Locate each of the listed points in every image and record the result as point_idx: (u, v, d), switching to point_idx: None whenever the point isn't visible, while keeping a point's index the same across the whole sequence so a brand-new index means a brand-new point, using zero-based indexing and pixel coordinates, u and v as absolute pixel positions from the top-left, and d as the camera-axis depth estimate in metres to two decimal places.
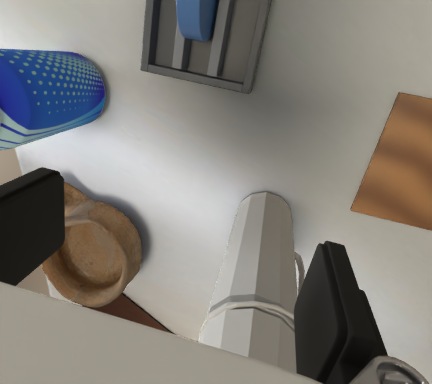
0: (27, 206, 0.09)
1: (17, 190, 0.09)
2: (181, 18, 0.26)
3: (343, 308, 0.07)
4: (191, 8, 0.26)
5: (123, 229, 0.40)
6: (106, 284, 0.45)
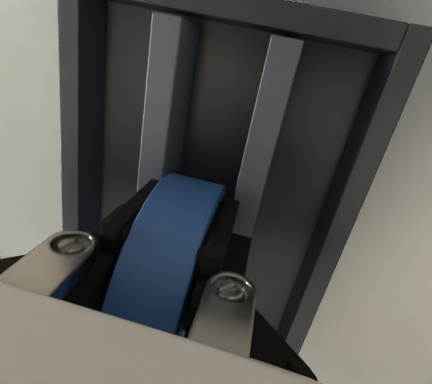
0: None
1: None
2: None
3: (208, 239, 0.09)
4: None
5: None
6: None
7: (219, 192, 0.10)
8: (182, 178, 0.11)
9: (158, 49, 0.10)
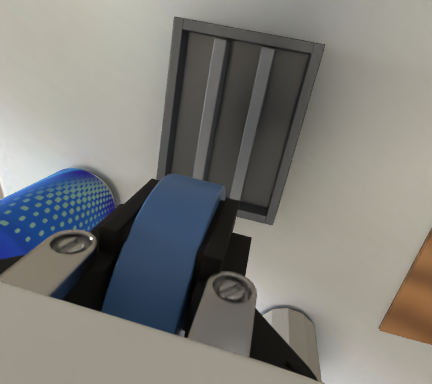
0: None
1: None
2: None
3: (208, 239, 0.09)
4: None
5: None
6: None
7: (219, 192, 0.10)
8: (182, 178, 0.11)
9: (216, 53, 0.25)
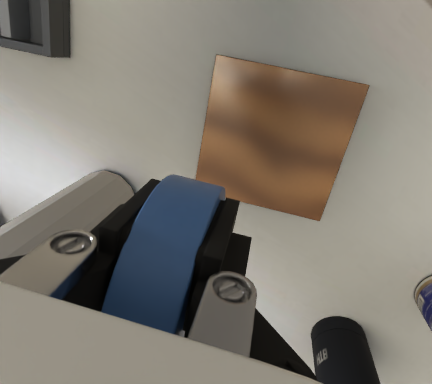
0: None
1: (145, 201, 0.10)
2: None
3: (208, 239, 0.09)
4: None
5: None
6: None
7: (219, 193, 0.10)
8: (182, 179, 0.11)
9: None
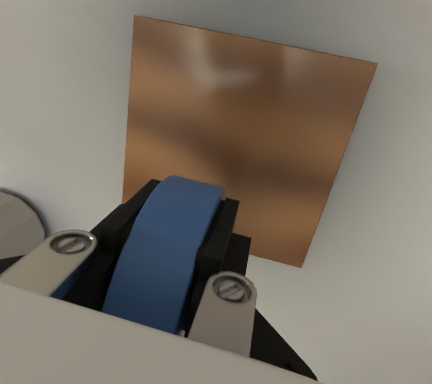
0: None
1: (145, 201, 0.10)
2: None
3: (208, 239, 0.09)
4: None
5: None
6: None
7: (219, 194, 0.10)
8: (182, 180, 0.11)
9: None
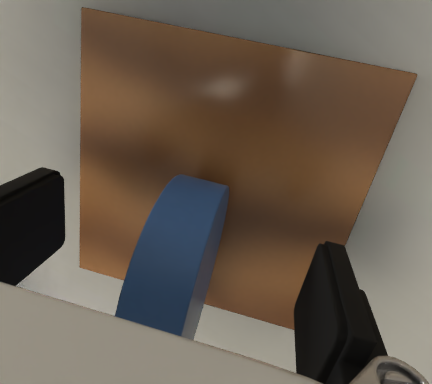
0: (27, 206, 0.09)
1: (17, 190, 0.09)
2: None
3: (343, 308, 0.07)
4: None
5: None
6: None
7: (223, 192, 0.11)
8: (189, 179, 0.12)
9: None
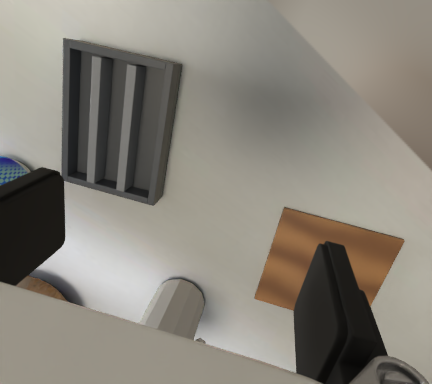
0: (27, 206, 0.09)
1: (17, 190, 0.09)
2: None
3: (343, 308, 0.07)
4: None
5: None
6: None
7: None
8: None
9: (94, 67, 0.32)
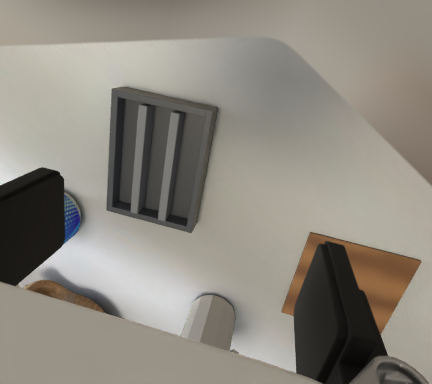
0: (27, 206, 0.09)
1: (18, 190, 0.09)
2: None
3: (343, 308, 0.07)
4: None
5: None
6: None
7: None
8: None
9: (140, 114, 0.36)
